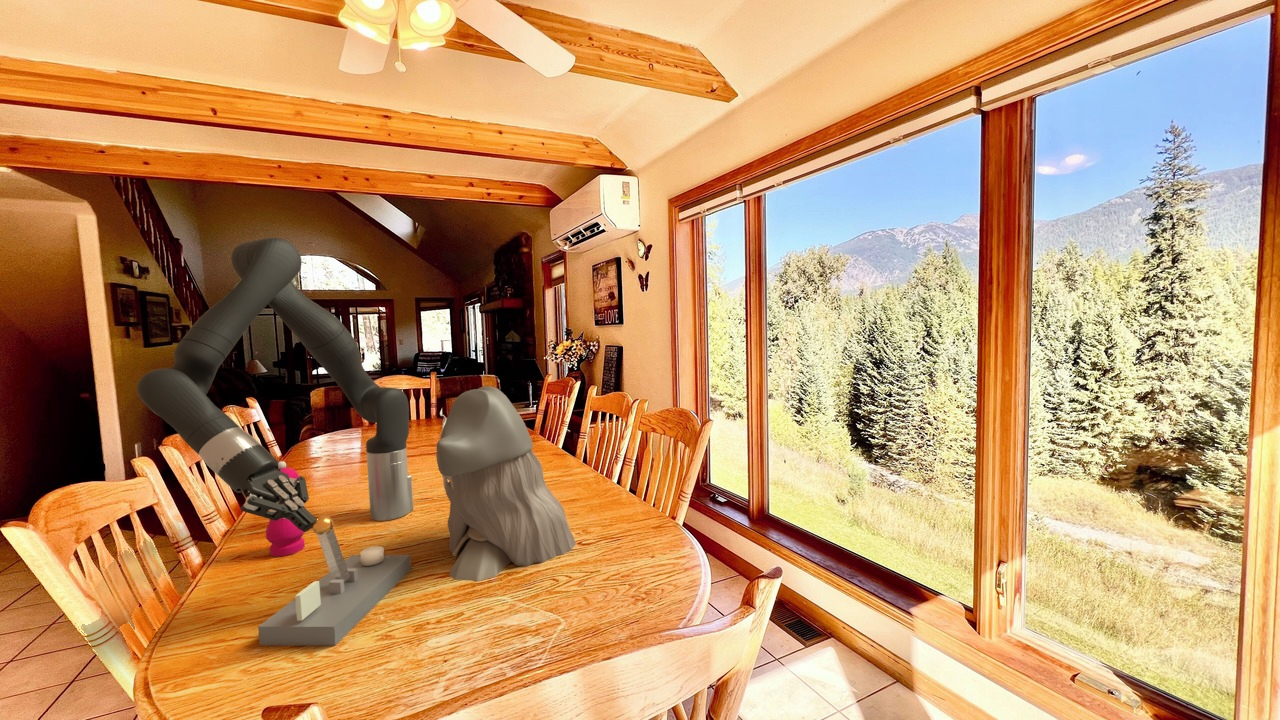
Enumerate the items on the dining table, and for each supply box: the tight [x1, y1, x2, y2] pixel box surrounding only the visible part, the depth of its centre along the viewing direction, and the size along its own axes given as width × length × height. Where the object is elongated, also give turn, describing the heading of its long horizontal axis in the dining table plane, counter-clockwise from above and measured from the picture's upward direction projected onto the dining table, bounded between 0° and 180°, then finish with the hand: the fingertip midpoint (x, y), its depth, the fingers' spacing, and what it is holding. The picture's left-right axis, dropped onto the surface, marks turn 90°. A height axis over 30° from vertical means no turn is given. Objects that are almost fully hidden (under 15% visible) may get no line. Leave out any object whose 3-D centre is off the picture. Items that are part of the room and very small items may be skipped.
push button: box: [359, 545, 385, 566], centre depth 99 cm, size 4×4×2 cm
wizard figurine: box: [435, 385, 577, 583], centre depth 112 cm, size 34×34×35 cm
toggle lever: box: [312, 515, 350, 581], centre depth 90 cm, size 3×3×12 cm
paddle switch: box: [294, 580, 321, 621], centre depth 81 cm, size 1×4×4 cm, turn 178°
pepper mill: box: [265, 461, 306, 558], centre depth 111 cm, size 7×7×20 cm
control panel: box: [257, 554, 412, 646], centre depth 90 cm, size 12×24×5 cm, turn 178°
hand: (311, 527), depth 89 cm, fingers closed
